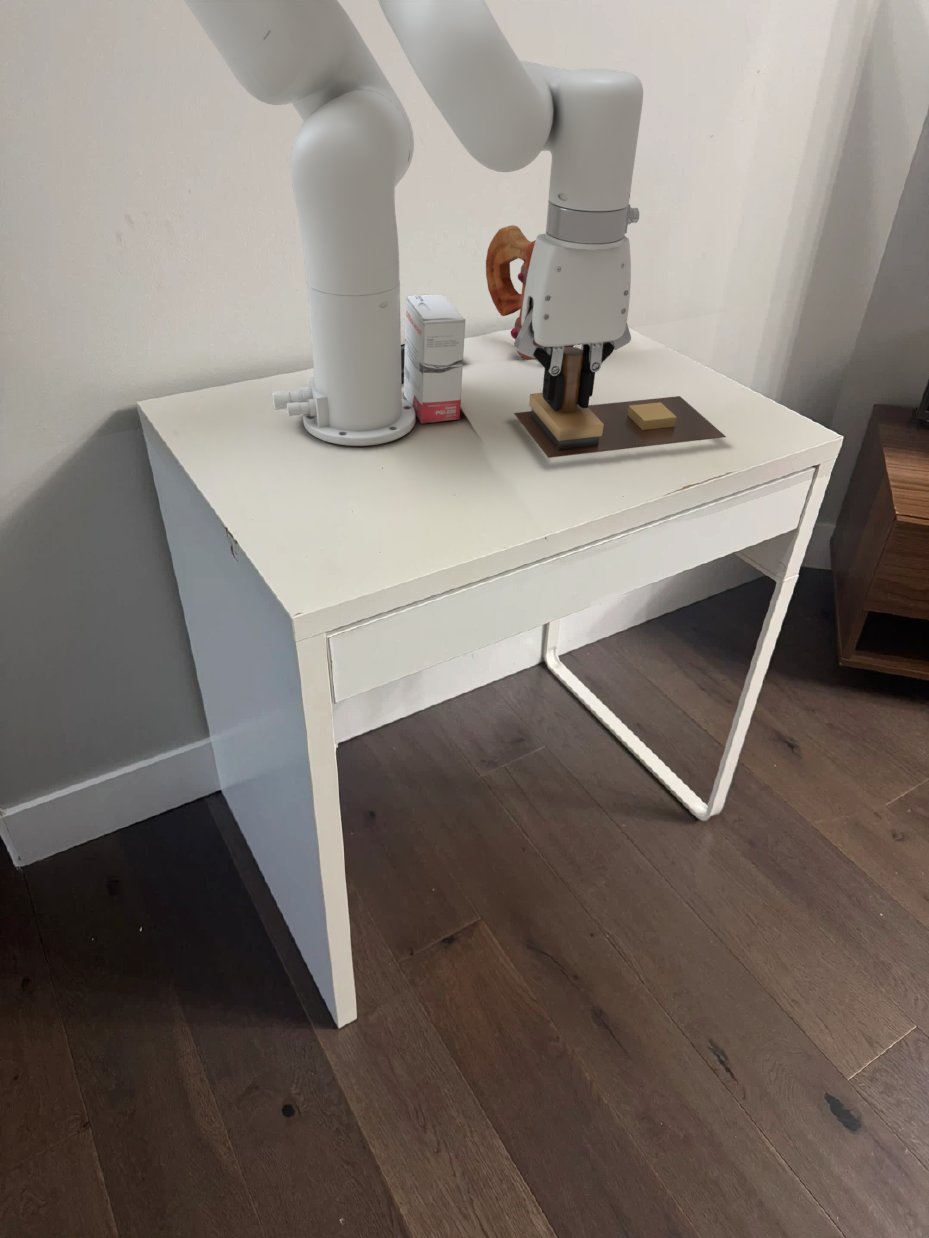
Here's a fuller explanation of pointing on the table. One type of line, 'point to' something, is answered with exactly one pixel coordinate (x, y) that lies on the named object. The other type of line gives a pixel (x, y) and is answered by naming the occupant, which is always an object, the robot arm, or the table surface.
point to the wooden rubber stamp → (568, 410)
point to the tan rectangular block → (651, 416)
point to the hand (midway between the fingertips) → (566, 403)
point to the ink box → (433, 357)
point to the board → (631, 428)
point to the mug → (508, 273)
